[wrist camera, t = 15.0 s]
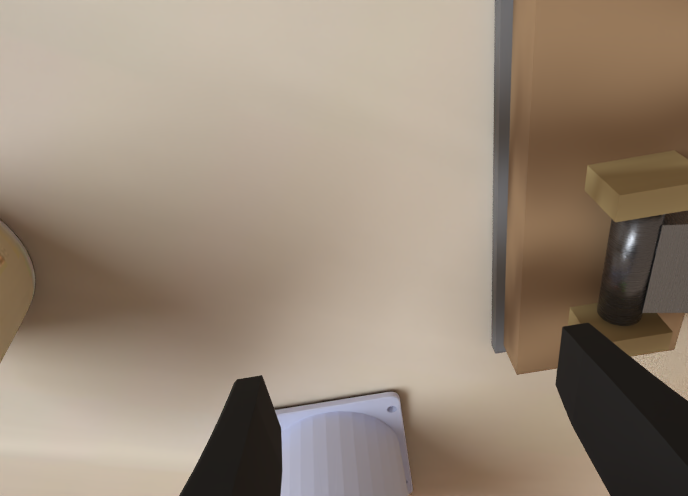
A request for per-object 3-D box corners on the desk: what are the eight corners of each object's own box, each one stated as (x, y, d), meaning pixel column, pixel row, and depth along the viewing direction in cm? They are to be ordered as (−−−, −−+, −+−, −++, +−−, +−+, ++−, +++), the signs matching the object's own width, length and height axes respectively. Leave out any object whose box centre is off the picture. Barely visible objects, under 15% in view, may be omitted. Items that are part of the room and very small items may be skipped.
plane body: (650, 319, 26) (711, 393, 22) (491, 344, 26) (524, 422, 22) (802, -299, 14) (1003, -376, 10) (497, -239, 14) (575, -292, 10)
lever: (592, 298, 21) (739, 297, 20) (602, 326, 20) (758, 326, 19) (609, 194, 19) (780, 185, 17) (621, 217, 17) (806, 210, 16)
